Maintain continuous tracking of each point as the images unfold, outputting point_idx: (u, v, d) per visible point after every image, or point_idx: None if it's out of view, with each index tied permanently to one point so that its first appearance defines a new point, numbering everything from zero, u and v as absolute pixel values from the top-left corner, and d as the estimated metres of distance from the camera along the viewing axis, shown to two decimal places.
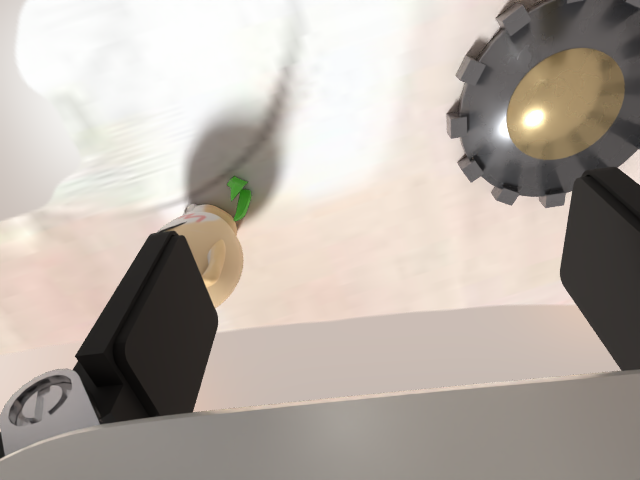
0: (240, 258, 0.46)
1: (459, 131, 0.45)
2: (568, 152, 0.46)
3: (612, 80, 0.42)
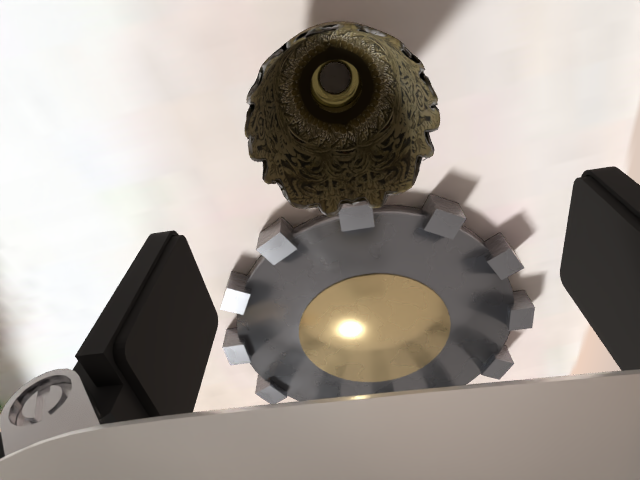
0: None
1: (238, 358, 0.33)
2: (392, 375, 0.35)
3: (430, 307, 0.31)
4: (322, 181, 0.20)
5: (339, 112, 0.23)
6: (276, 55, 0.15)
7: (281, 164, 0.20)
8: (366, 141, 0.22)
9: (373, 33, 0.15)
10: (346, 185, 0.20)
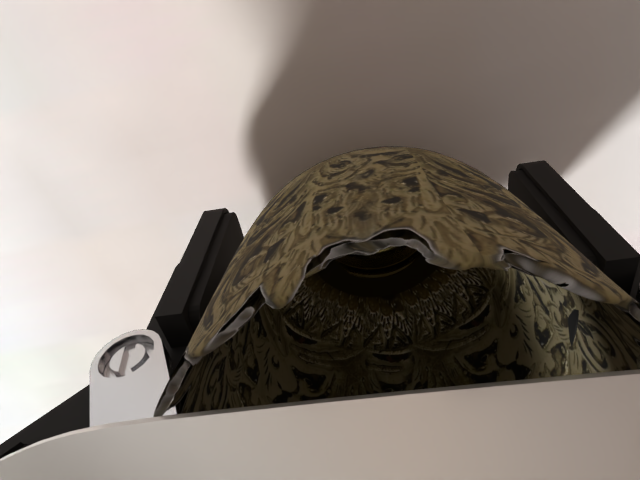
0: None
1: None
2: None
3: None
4: None
5: (379, 278, 0.12)
6: (232, 331, 0.05)
7: None
8: (432, 341, 0.12)
9: (551, 281, 0.05)
10: None
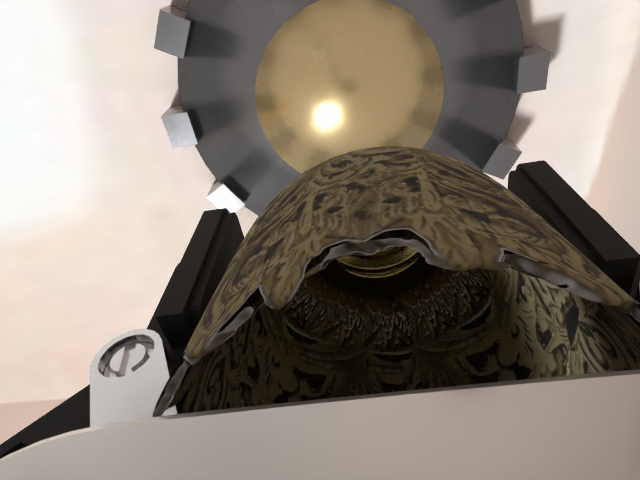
0: None
1: (182, 136, 0.27)
2: None
3: (419, 55, 0.25)
4: None
5: (380, 278, 0.12)
6: (231, 331, 0.05)
7: None
8: (433, 341, 0.12)
9: (551, 282, 0.04)
10: None
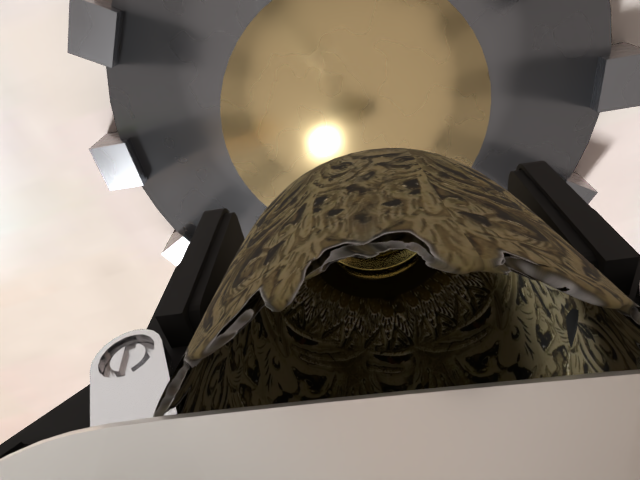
0: None
1: (121, 175, 0.19)
2: None
3: (456, 58, 0.17)
4: None
5: (381, 279, 0.12)
6: (231, 334, 0.05)
7: None
8: (433, 342, 0.12)
9: (551, 285, 0.04)
10: None
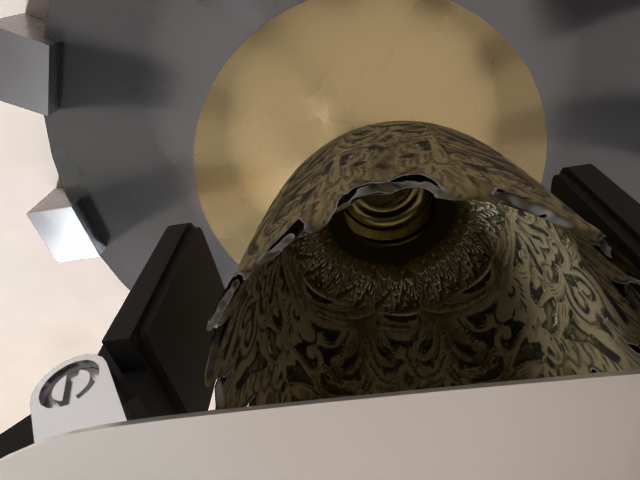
0: None
1: (70, 244, 0.15)
2: None
3: (504, 104, 0.13)
4: None
5: (391, 246, 0.13)
6: (277, 251, 0.06)
7: (286, 380, 0.10)
8: (438, 304, 0.13)
9: (534, 213, 0.06)
10: None
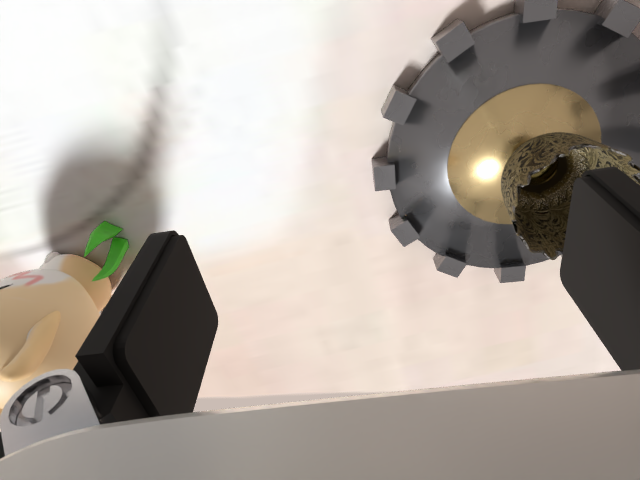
0: None
1: (385, 182, 0.34)
2: None
3: (585, 128, 0.32)
4: (536, 234, 0.30)
5: (536, 184, 0.32)
6: (553, 161, 0.25)
7: (515, 222, 0.29)
8: (557, 206, 0.32)
9: (617, 152, 0.25)
10: (554, 238, 0.30)
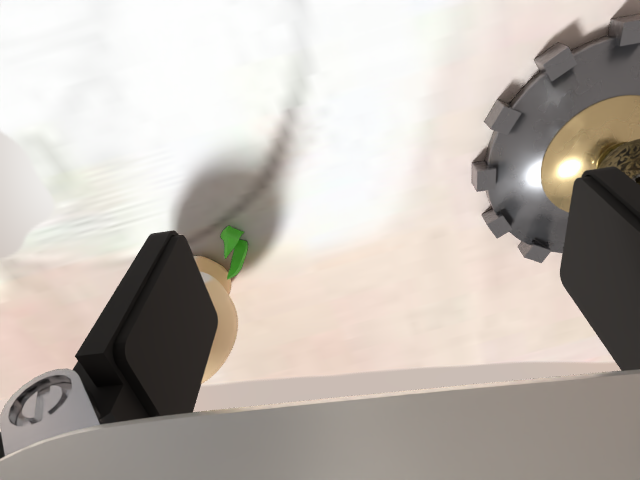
0: (234, 324, 0.40)
1: (486, 184, 0.39)
2: None
3: None
4: None
5: None
6: None
7: None
8: None
9: None
10: None
